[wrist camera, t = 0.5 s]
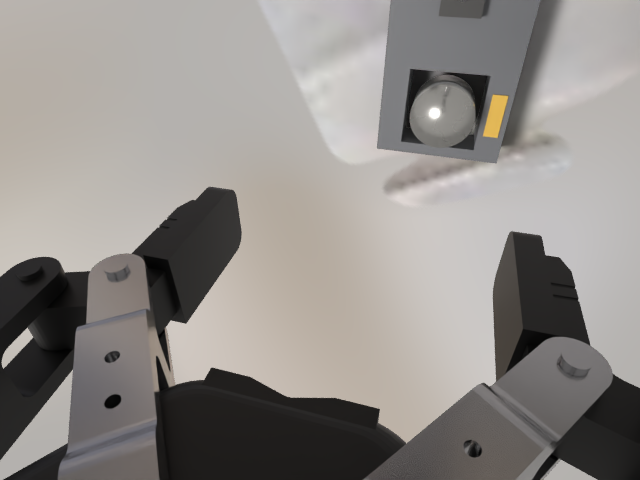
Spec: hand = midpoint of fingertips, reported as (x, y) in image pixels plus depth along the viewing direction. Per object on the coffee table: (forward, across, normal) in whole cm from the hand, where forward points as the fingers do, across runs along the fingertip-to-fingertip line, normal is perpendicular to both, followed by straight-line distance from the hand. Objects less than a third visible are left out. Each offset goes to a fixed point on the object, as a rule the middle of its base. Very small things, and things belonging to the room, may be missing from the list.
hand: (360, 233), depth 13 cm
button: (+23, -2, +4) cm, 23 cm away
